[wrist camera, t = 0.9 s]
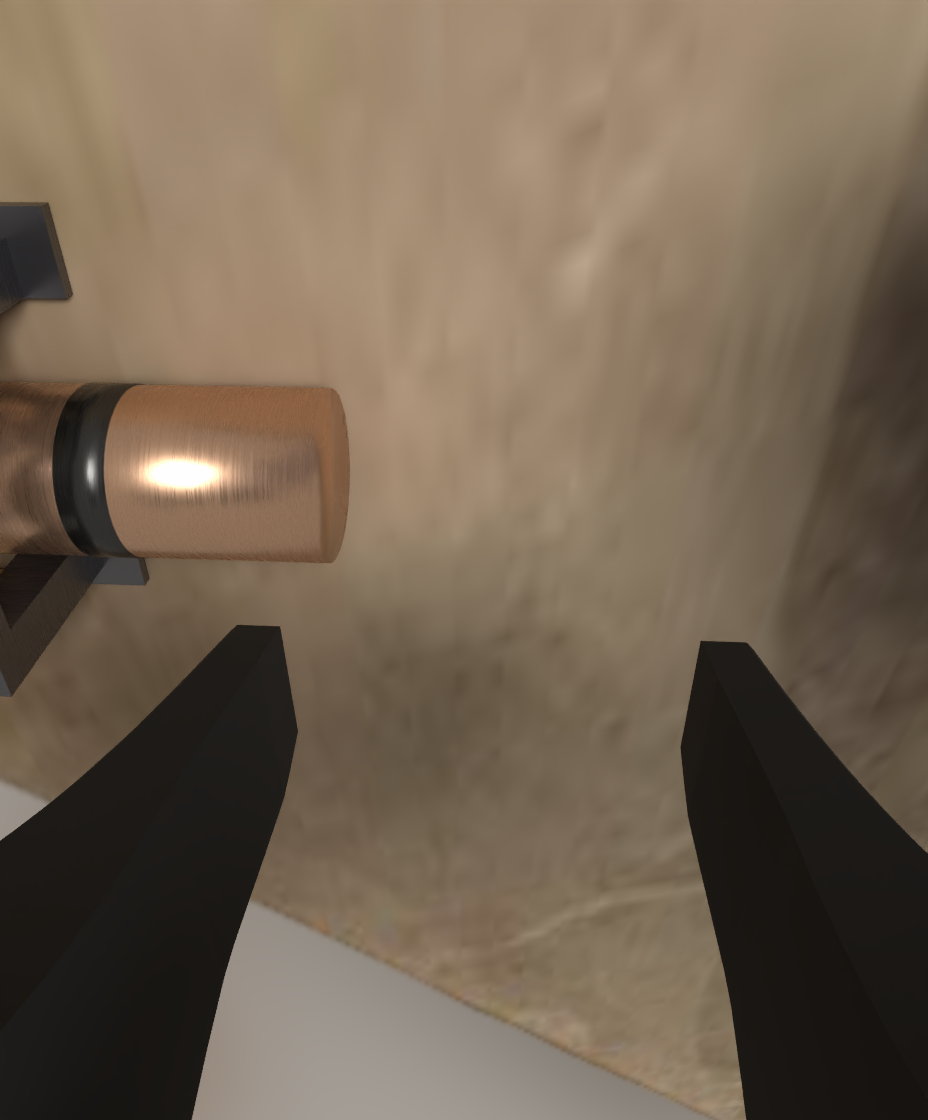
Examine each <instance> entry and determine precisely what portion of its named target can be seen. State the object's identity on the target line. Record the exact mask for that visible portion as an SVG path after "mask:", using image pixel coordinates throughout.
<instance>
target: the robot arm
mask: <svg viewBox="0 0 928 1120" xmlns="http://www.w3.org/2000/svg"><path fill="white" fill-rule="evenodd" d="M297 733H298V729H297V723H296V718H295V712H294V706H293V700H292V694H291V688H290V682H289V676H288V670H287V665H286V659H285V653H284V647H283V641H282V635H281V629H280V626H252V625H237V626H236V627H235V628H234V629H232V630H231V631H230V632H229V633H228V634H227V635H226V636H225V637H224V638H223V639H222V640H221V641H220V642H219V643H218V645H217V646H216V647H215V648H214V649H213V650H212V651H211V652H210V653H209V654H208V655H207V656H206V657H205V658H204V659H203V660H202V661H201V662H200V663H199V664H198V665H197V667H196V668H195V669H194V670H193V671H192V672H191V673H190V674H189V675H188V676H187V677H186V678H185V679H184V680H183V681H182V682H181V683H180V684H179V685H178V686H177V687H176V688H175V689H174V690H173V691H172V692H171V693H170V694H169V695H168V696H167V697H166V698H165V699H164V700H163V701H162V702H161V703H160V704H159V705H158V706H157V707H156V708H155V709H154V710H153V711H152V712H151V713H150V714H149V715H148V716H147V717H146V718H145V719H144V720H143V721H142V722H141V723H140V724H139V725H138V726H137V727H136V728H135V729H134V730H133V731H132V732H131V733H130V734H128V735H127V736H126V737H125V738H124V739H123V740H122V741H121V742H120V743H119V744H118V745H116V746H115V747H114V748H113V749H112V750H111V751H110V752H109V753H108V754H106V755H105V756H104V757H103V758H102V759H101V760H100V761H99V762H98V763H96V764H95V765H94V766H93V767H92V768H91V769H90V770H89V771H88V772H86V773H85V774H84V775H83V776H82V777H81V778H80V779H78V780H77V781H76V782H75V783H74V784H73V785H71V786H70V787H69V788H68V789H67V790H65V791H64V792H63V793H62V794H61V795H59V796H58V797H57V798H56V799H54V800H53V801H52V802H51V803H49V804H48V805H47V806H46V807H44V808H43V809H42V810H41V811H39V812H38V813H37V814H35V815H34V816H33V817H31V818H30V819H29V820H27V821H26V822H25V823H23V824H22V825H21V826H20V827H18V828H17V829H16V830H14V831H13V832H12V833H10V834H9V835H7V836H6V837H5V838H3V839H2V840H1V841H0V1120H192V1115H193V1111H194V1106H195V1101H196V1097H197V1092H198V1088H199V1083H200V1079H201V1074H202V1070H203V1065H204V1061H205V1056H206V1051H207V1047H208V1043H209V1039H210V1034H211V1030H212V1026H213V1022H214V1018H215V1014H216V1009H217V1005H218V1001H219V997H220V993H221V988H222V984H223V980H224V976H225V972H226V969H227V966H228V963H229V959H230V956H231V952H232V949H233V946H234V943H235V940H236V937H237V934H238V931H239V928H240V925H241V922H242V920H243V917H244V914H245V911H246V908H247V905H248V902H249V899H250V896H251V893H252V891H253V888H254V885H255V882H256V879H257V876H258V873H259V870H260V867H261V864H262V862H263V859H264V856H265V853H266V850H267V847H268V844H269V841H270V838H271V835H272V832H273V829H274V826H275V823H276V820H277V817H278V814H279V811H280V808H281V805H282V802H283V799H284V796H285V791H286V786H287V782H288V777H289V773H290V768H291V763H292V758H293V753H294V748H295V743H296V738H297ZM681 756H682V766H683V776H684V786H685V794H686V802H687V811H688V818H689V822H690V827H691V831H692V836H693V840H694V844H695V849H696V853H697V857H698V862H699V866H700V870H701V874H702V879H703V883H704V887H705V891H706V896H707V900H708V904H709V908H710V912H711V917H712V921H713V925H714V929H715V934H716V938H717V942H718V946H719V950H720V955H721V959H722V963H723V967H724V972H725V977H726V982H727V987H728V992H729V997H730V1003H731V1008H732V1015H733V1022H734V1030H735V1037H736V1044H737V1052H738V1059H739V1066H740V1074H741V1081H742V1089H743V1097H744V1105H745V1113H746V1120H928V853H926V852H925V851H924V850H923V849H922V848H921V847H920V846H919V845H918V844H917V843H916V842H915V841H914V840H913V839H912V838H911V837H910V836H909V835H908V834H907V833H906V832H905V831H904V830H903V829H902V828H901V827H900V826H899V825H898V824H897V823H896V822H895V821H894V820H893V818H892V817H891V816H890V815H889V814H888V813H887V812H886V811H885V810H884V809H883V808H882V807H881V806H880V805H879V803H878V802H877V801H876V800H875V799H874V798H873V797H872V796H871V795H870V794H869V793H868V792H867V791H866V789H865V788H864V787H863V786H862V785H861V784H860V783H859V782H858V780H857V779H856V778H855V777H854V776H853V775H852V774H851V773H850V771H849V770H848V769H847V768H846V767H845V766H844V764H843V763H842V762H841V761H840V760H839V758H838V757H837V756H836V755H835V754H834V752H833V751H832V750H831V749H830V748H829V747H828V745H827V744H826V743H825V742H824V741H823V739H822V738H821V737H820V736H819V735H818V733H817V732H816V731H815V730H814V729H813V727H812V726H811V725H810V724H809V722H808V721H807V720H806V719H805V717H804V716H803V715H802V713H801V712H800V711H799V710H798V708H797V707H796V706H795V704H794V703H793V702H792V701H791V699H790V698H789V697H788V695H787V694H786V693H785V691H784V690H783V689H782V688H781V686H780V685H779V684H778V682H777V681H776V680H775V678H774V677H773V676H772V674H771V673H770V672H769V670H768V669H767V667H766V666H765V665H764V663H763V662H762V661H761V659H760V658H759V657H758V655H757V654H756V653H755V651H754V650H753V649H752V648H751V647H750V646H749V644H748V643H743V642H714V641H701V643H700V648H699V653H698V658H697V664H696V669H695V674H694V679H693V685H692V690H691V695H690V700H689V706H688V711H687V716H686V721H685V727H684V732H683V737H682V742H681Z"/></svg>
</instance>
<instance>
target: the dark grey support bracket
mask: <svg viewBox="0 0 928 1120" xmlns="http://www.w3.org/2000/svg"><path fill="white" fill-rule="evenodd" d="M72 294H73V293H72V290H71V286H70V282H69V278H68V275H67V271H66V267H65V264H64V260H63V256H62V252H61V249H60V245H59V241H58V238H57V234H56V230H55V226H54V223H53V219H52V215H51V212H50V208H49V204H48V203H26V202H0V314H1V313H3V312H4V311H6V310H7V309H9V308H10V307H12V306H13V305H15V304H16V303H18V302H19V301H21V300H22V299H24V298H35V299H67V298H68V297H70V296H71V295H72ZM148 580H149V575H148V571H147V567H146V564H145V560H144V558H116V557H92V556H82V555H50V554H17V555H16V556H15V557H14V559H13V560H12V561H11V562H10V563H9V564H8V566H7V567H6V568H5V569H4V570H3V571H2V573H1V574H0V696H7V697H12V695H13V694H14V693H15V691H16V690H17V688H18V687H19V686H20V684H21V683H22V681H23V680H24V678H25V677H26V676H27V674H28V673H29V671H30V670H31V669H32V667H33V666H34V664H35V663H36V661H37V660H38V659H39V657H40V656H41V654H42V653H43V652H44V650H45V649H46V647H47V646H48V644H49V643H50V642H51V640H52V639H53V637H54V636H55V635H56V633H57V632H58V630H59V629H60V627H61V626H62V625H63V623H64V622H65V620H66V619H67V618H68V616H69V615H70V613H71V612H72V610H73V609H74V608H75V606H76V605H77V603H78V602H79V601H80V599H81V598H82V596H83V595H84V593H85V592H86V591H87V589H88V588H89V586H90V585H91V584H118V585H146V583H147V582H148Z"/></svg>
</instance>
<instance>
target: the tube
mask: <svg viewBox="0 0 928 1120" xmlns="http://www.w3.org/2000/svg"><path fill="white" fill-rule="evenodd" d="M349 479H350V466H349V444H348V433H347V425H346V419H345V413H344V409H343V405H342V402H341V399H340V397H339V395H338V393H337V391H336V390H335V389H332V388H292V387H237V386H183V385H144V384H128V383H88V384H75V383H20V382H0V553H17V554H50V555H82V556H92V557H116V558H178V559H210V560H242V561H274V562H307V563H332V562H334V561H335V559H336V558H337V556H338V554H339V551H340V548H341V545H342V541H343V537H344V532H345V527H346V520H347V512H348V501H349Z"/></svg>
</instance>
